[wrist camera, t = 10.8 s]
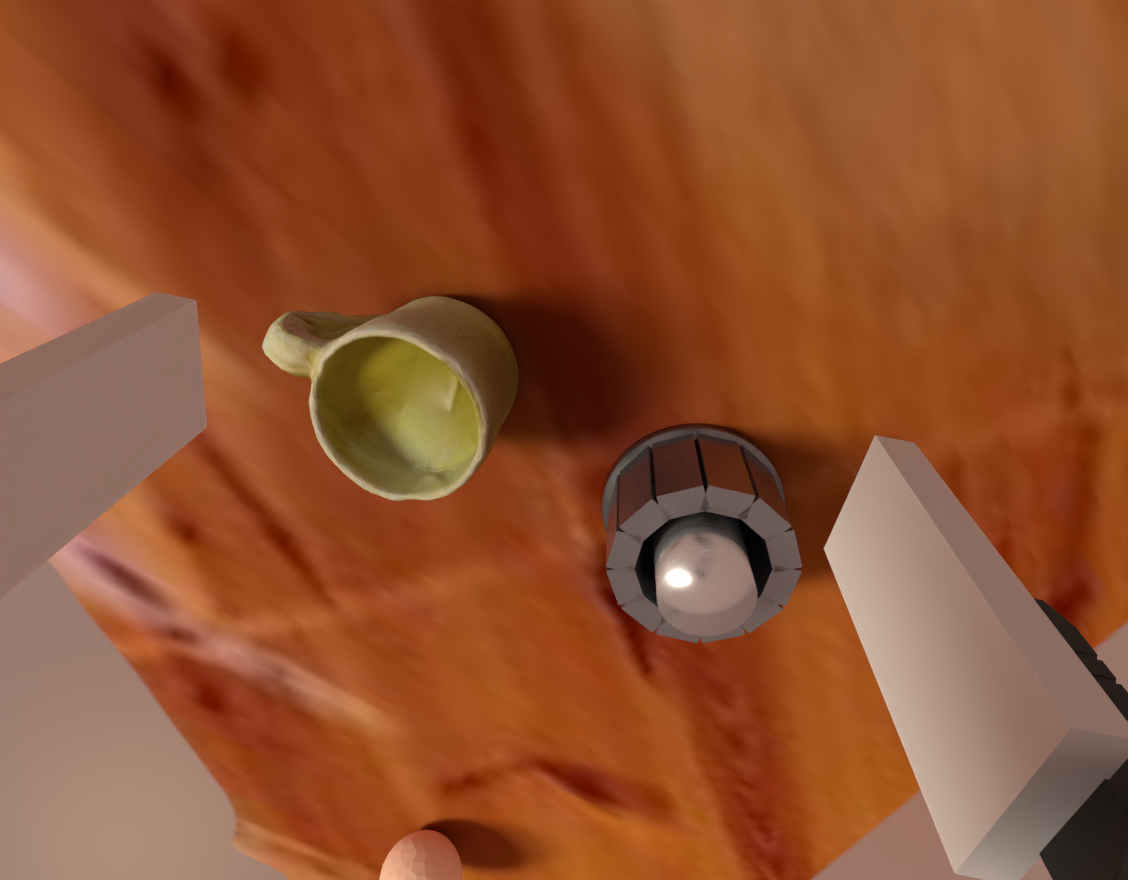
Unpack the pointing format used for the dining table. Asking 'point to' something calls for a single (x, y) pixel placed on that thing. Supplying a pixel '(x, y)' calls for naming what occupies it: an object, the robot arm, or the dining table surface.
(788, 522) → the ring
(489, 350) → the mug
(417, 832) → the egg
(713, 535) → the piston post
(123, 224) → the dining table surface
